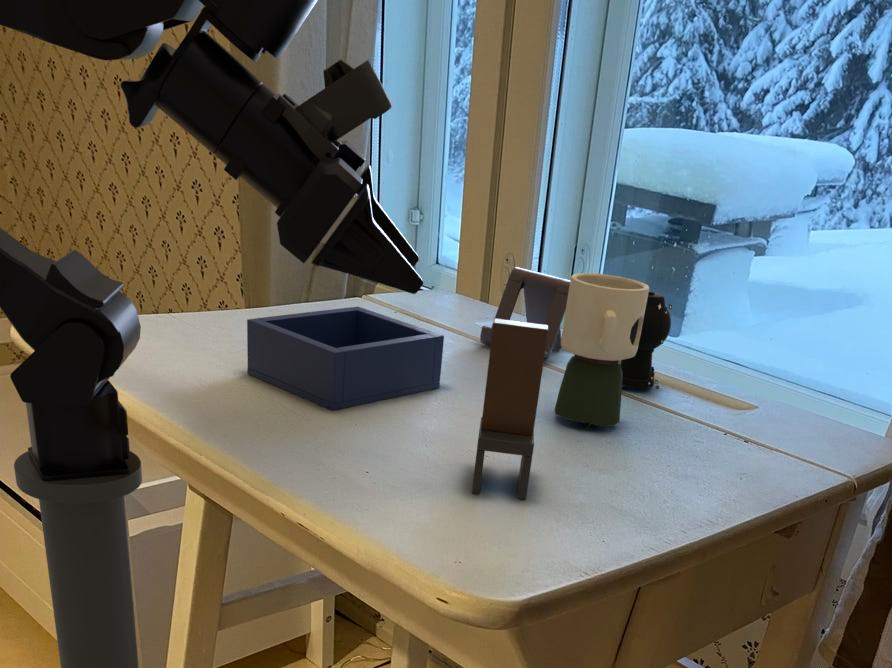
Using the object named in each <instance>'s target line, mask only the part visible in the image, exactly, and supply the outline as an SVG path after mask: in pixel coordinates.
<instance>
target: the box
mask: <svg viewBox="0 0 892 668" xmlns="http://www.w3.org/2000/svg"><path fill="white" fill-rule="evenodd" d="M246 329H247V330H246V334H247V335H246V336H247V337H246V338H247V341H246V342H247V343H246V344H247V345H246V346H247V347H246V350H247V351H246V352H247V354H246V355H247V375H249V376H252V377H254V378H256V379H258V380H261V381H264V382H266V383H268V384H270V385H273V386H275V387H277V388H279V389H282V390H285V391H286V392H289V393H291V394H294V395H296V396H299V397H301V398H303V399H305V400H308V401H310V402H313V403H315V404H317V405H320V406H322V407H323V408H326V409H328V410H331V411H336V410H341V409H345V408H350V407H354V406H359V405H364V404H368V403H369V404H370V403H375V402H378V401H383V400H387V399H393V398H399V397H403V396H406V395H411V394H416V393H421V392H422V393H423V392H425V391H426V392H427V391H431V390H435V389H440V387H441V386H440V385H441V374H442V363H443V353H444V341H445V335H444V334H441V333H438V332H435V331H432V330H429V329H426V328H423V327H419V326H418V325H417V326H416V325H414V324H411V323H409V322H405V321H402V320H399V319H397V318H393V317H390V316H388V315H385V314H382V313H381V314H380V313H379V312H375V311H373V310H370V309H367V308H363V307H361V306H351V307H350V306H349V307H342V308H332V309H324V310H315V311H308V312H298V313H291V314H290V313H289V314H281V315H273V316H265V317H257V318H247V320H246Z"/></svg>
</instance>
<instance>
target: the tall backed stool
mask: <svg viewBox="0 0 892 668" xmlns="http://www.w3.org/2000/svg"><path fill="white" fill-rule="evenodd" d="M492 324H493V330H492V339H491V347H490V346H489V347H490V349H489V356H488V364H487V372H486V381H485V391H484V399H483V407H482V414H481V415H482V416H481V417H480V423H479V431H478V437H477V445H476V446H477V447H476V455H475V463H474V471H473V481H472V487H471V493H472V494H474V495H475V494H476V495H480V494H481V485H482V478H483V470H484V469H483V468H484V461H485V460H484V459H485V453H486V452H492V453H498V454H507V455H516V456H521V458H520V464H519V471H518V491H517V492H518V494H517V495H518V496H517V497H518V500H527V495H528V488H529V483H530V482H529V481H530V476H531V468H532V462H533V454H534V447H535V424H536V423H535V422H536V417H537V411H538V410H537V409H538V404H539V397H540V391H541V383H542V376H543V370H544V364H545V362H544V357H545V350H546V343H547V336H548V325H542V324H534V323H527V321H518V320H511V319H510V320H503V319H495V318H493V322H492Z"/></svg>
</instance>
